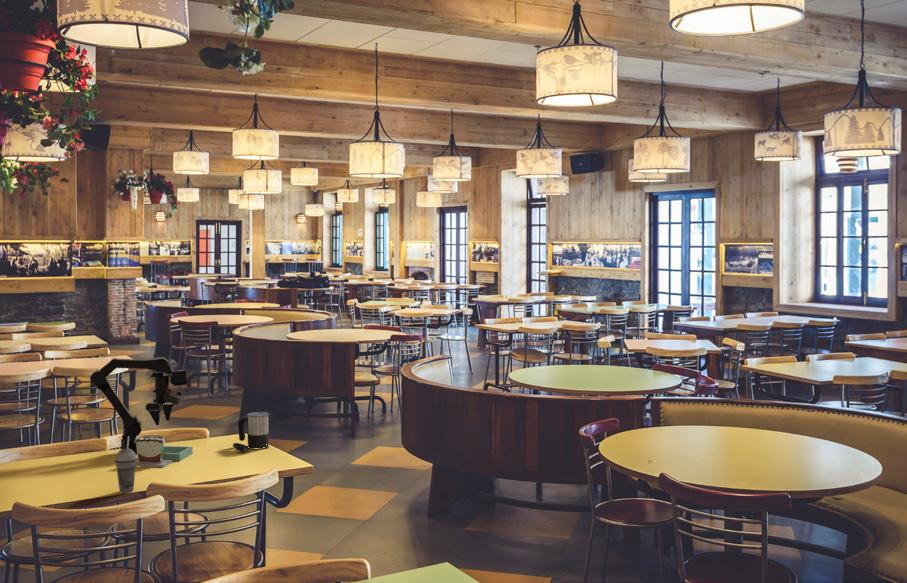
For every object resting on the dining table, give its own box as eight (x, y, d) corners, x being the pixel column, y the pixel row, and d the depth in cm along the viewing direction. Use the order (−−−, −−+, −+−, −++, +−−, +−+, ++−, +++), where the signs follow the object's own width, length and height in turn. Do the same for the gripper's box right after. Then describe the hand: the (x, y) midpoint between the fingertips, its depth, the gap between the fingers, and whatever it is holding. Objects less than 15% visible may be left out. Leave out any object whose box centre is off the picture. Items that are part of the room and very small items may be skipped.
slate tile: (129, 466, 323) (129, 464, 323) (139, 461, 331) (139, 459, 331) (163, 467, 321) (163, 465, 321) (172, 462, 329) (172, 460, 329)
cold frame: (138, 459, 334) (138, 452, 333) (152, 452, 345) (152, 445, 345) (179, 461, 331) (179, 453, 331) (192, 453, 343) (192, 446, 343)
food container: (171, 459, 330) (170, 435, 330) (164, 463, 324) (163, 438, 324) (142, 458, 332) (141, 434, 331) (134, 462, 326) (134, 437, 325)
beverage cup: (119, 488, 293) (117, 434, 292) (140, 488, 294) (138, 433, 293) (112, 494, 286) (111, 438, 285) (133, 494, 286) (132, 438, 285)
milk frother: (271, 444, 359) (270, 411, 358) (264, 453, 343) (264, 418, 342) (238, 445, 358) (238, 412, 357) (230, 454, 342) (230, 419, 342)
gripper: (169, 391, 337) (170, 428, 338) (189, 383, 356) (190, 418, 357) (144, 390, 339) (145, 427, 340) (165, 383, 357) (166, 418, 358)
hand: (162, 422), depth 348 cm, fingers open, 9 cm apart
